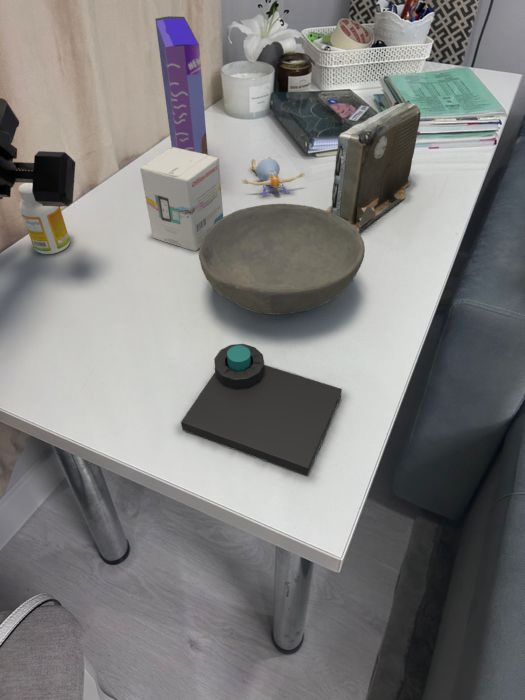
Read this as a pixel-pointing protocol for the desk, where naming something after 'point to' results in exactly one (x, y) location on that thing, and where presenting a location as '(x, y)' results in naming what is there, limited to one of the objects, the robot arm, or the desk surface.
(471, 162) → the desk surface
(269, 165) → the fairy figurine
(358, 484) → the desk surface
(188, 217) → the ink box
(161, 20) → the cereal box
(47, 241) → the supplement bottle
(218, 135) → the desk surface
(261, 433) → the scale
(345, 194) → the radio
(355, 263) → the bowl
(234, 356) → the button
